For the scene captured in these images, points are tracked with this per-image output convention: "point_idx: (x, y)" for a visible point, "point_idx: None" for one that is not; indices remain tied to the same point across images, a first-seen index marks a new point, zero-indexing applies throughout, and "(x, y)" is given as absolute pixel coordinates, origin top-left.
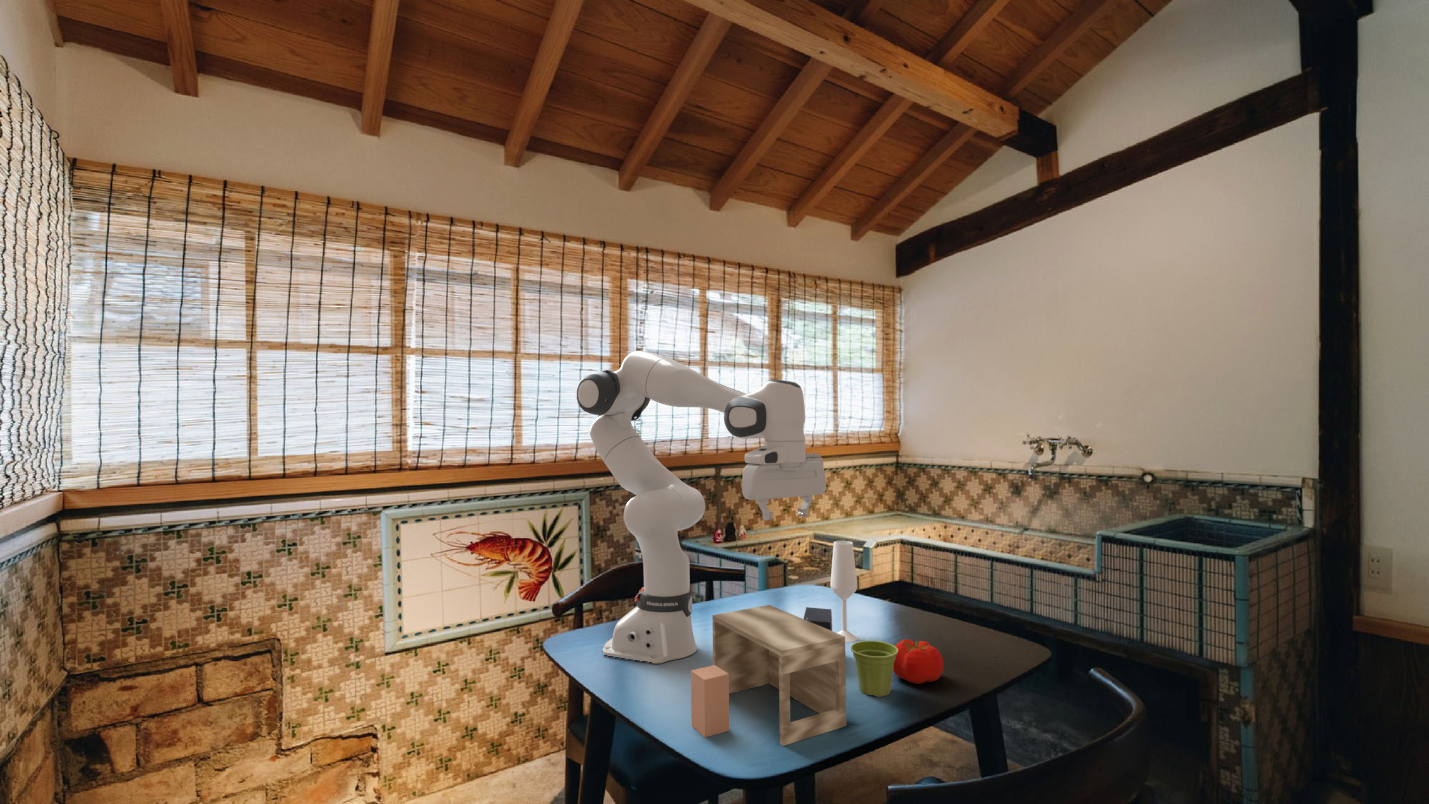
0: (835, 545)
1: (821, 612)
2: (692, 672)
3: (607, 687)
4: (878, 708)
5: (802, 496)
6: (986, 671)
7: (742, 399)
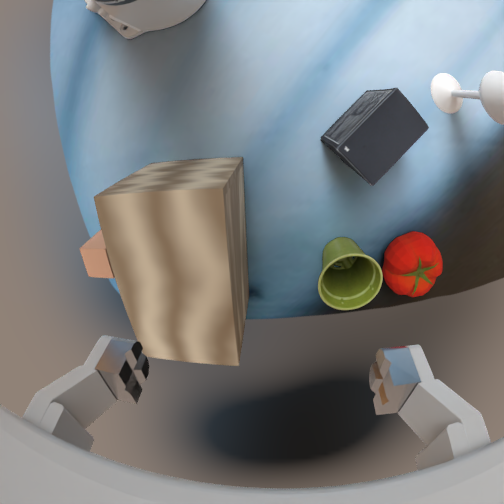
0: None
1: (397, 135)
2: (81, 251)
3: (61, 95)
4: (307, 284)
5: (447, 452)
6: (463, 275)
7: None
